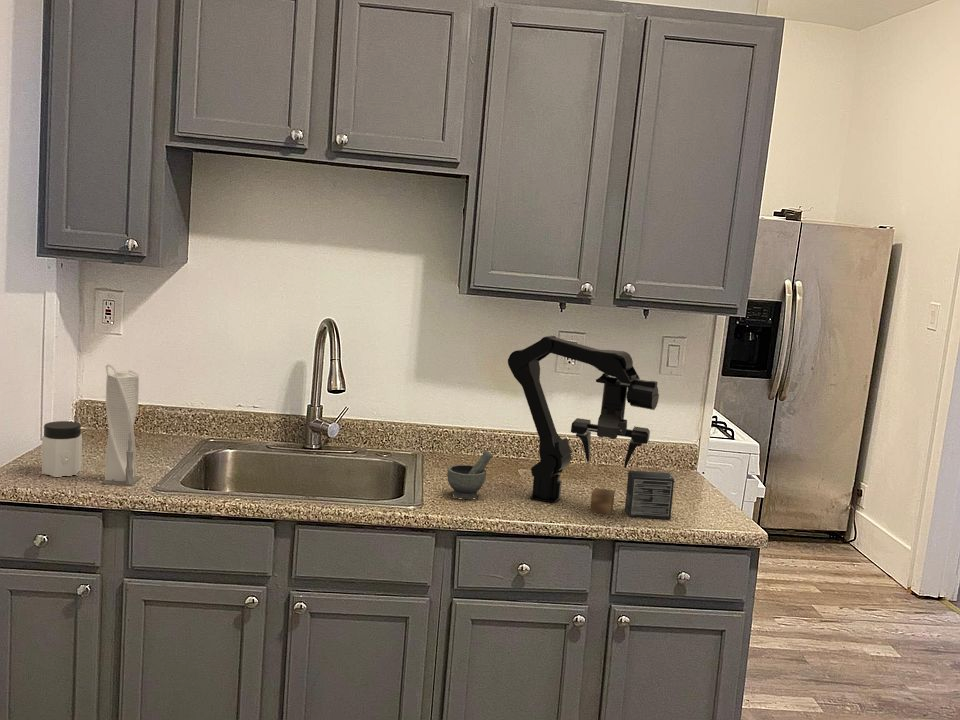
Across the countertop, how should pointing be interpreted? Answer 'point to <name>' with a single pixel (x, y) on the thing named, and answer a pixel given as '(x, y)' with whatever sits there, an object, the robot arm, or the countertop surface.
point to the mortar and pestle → (468, 477)
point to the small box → (649, 494)
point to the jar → (61, 448)
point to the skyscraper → (121, 427)
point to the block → (602, 501)
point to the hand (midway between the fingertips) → (606, 464)
